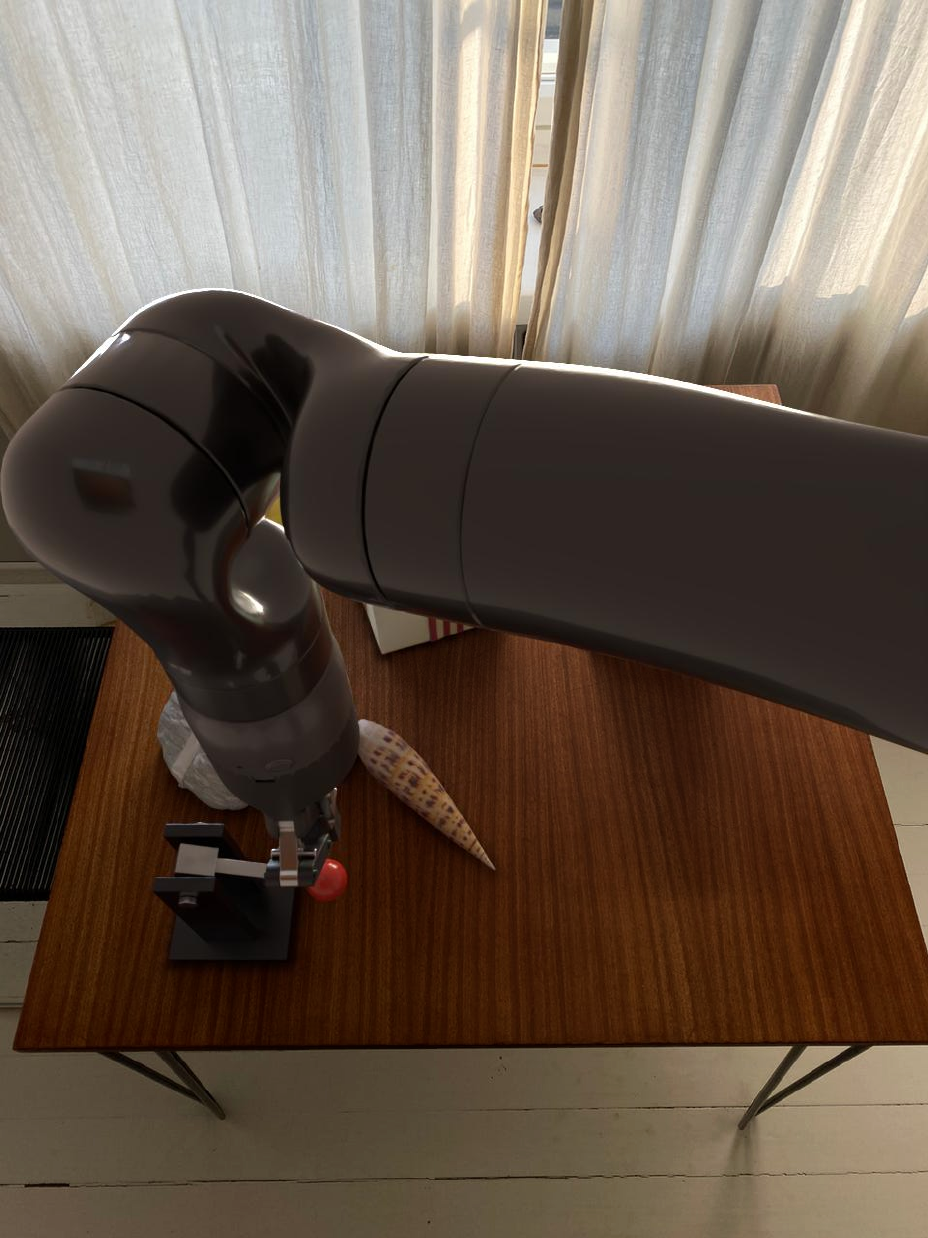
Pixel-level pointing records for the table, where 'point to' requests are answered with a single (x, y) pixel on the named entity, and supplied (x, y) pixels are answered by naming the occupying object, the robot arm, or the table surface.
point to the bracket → (225, 908)
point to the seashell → (414, 784)
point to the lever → (251, 870)
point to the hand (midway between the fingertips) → (323, 832)
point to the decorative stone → (191, 760)
